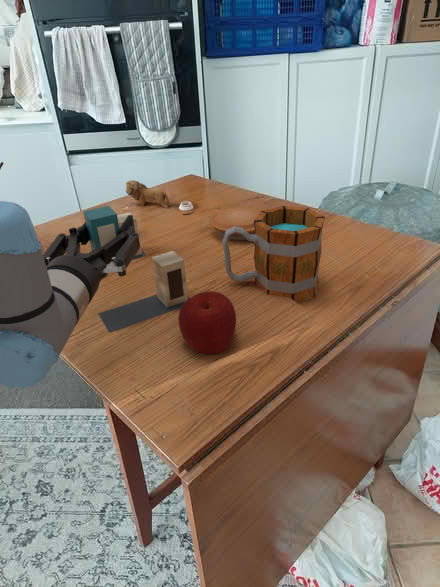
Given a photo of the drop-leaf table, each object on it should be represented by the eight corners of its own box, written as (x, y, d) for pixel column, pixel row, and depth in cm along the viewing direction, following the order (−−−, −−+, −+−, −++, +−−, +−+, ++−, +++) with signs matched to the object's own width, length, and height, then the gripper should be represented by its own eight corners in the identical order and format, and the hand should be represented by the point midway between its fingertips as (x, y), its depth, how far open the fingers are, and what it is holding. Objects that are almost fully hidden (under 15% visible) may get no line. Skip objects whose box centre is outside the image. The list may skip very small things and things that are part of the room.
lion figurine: (126, 212, 127) (121, 183, 122) (132, 206, 131) (127, 177, 126) (174, 214, 124) (171, 184, 120) (178, 207, 129) (176, 177, 124)
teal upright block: (93, 258, 77) (82, 211, 72) (117, 251, 78) (108, 205, 74) (100, 269, 73) (90, 220, 68) (126, 262, 75) (117, 214, 70)
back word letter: (117, 251, 102) (110, 216, 97) (135, 247, 104) (129, 212, 99) (123, 259, 99) (117, 223, 94) (142, 254, 101) (136, 218, 96)
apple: (170, 354, 72) (164, 306, 67) (202, 324, 79) (198, 278, 74) (218, 373, 68) (215, 323, 62) (247, 340, 75) (246, 292, 69)
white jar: (193, 216, 122) (196, 209, 126) (192, 206, 121) (196, 200, 125) (176, 215, 123) (180, 209, 127) (175, 206, 122) (179, 199, 126)
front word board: (99, 319, 82) (97, 313, 81) (180, 293, 88) (179, 287, 88) (110, 339, 76) (108, 332, 76) (195, 309, 83) (194, 303, 82)
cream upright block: (157, 297, 85) (151, 257, 80) (177, 290, 87) (173, 250, 82) (167, 308, 81) (162, 267, 76) (188, 300, 83) (184, 259, 78)
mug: (311, 268, 95) (316, 204, 86) (327, 302, 83) (334, 232, 75) (222, 274, 94) (219, 209, 86) (226, 309, 83) (223, 238, 75)
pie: (278, 239, 107) (279, 221, 105) (218, 248, 105) (217, 230, 102) (258, 217, 120) (259, 199, 117) (205, 224, 117) (203, 207, 115)
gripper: (5, 312, 61) (66, 240, 80) (136, 314, 59) (167, 240, 79) (-13, 266, 57) (56, 202, 76) (128, 267, 55) (162, 202, 75)
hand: (112, 222), depth 77 cm, fingers closed on teal upright block, 6 cm apart
